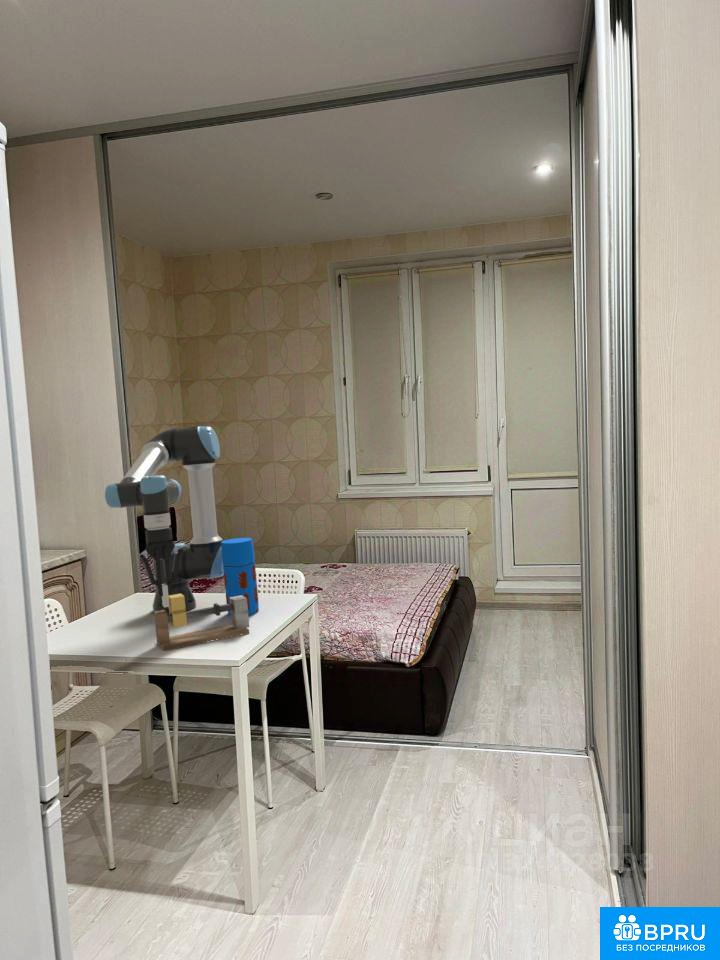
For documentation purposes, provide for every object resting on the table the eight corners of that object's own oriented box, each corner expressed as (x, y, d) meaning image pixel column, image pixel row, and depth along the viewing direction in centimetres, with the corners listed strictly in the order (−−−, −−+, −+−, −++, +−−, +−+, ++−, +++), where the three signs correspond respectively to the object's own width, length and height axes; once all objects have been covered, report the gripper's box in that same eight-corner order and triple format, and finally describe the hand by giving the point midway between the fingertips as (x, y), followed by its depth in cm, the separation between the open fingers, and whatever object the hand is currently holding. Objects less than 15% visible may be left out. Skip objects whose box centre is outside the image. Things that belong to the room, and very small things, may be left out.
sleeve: (170, 624, 227) (167, 595, 226) (183, 622, 229) (180, 593, 228) (173, 627, 223) (170, 598, 222) (187, 625, 225) (184, 595, 224)
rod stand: (155, 643, 228) (151, 609, 227) (242, 626, 240) (239, 594, 239) (162, 651, 219) (158, 616, 218) (252, 632, 231) (249, 599, 230)
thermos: (264, 608, 262) (257, 537, 260) (251, 616, 251) (244, 542, 249) (235, 608, 265) (229, 538, 263) (222, 616, 254) (215, 543, 252)
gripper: (137, 532, 216) (146, 612, 218) (183, 526, 222) (190, 604, 224) (133, 529, 223) (141, 607, 224) (177, 523, 228) (184, 600, 230)
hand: (166, 606), depth 224 cm, fingers closed
